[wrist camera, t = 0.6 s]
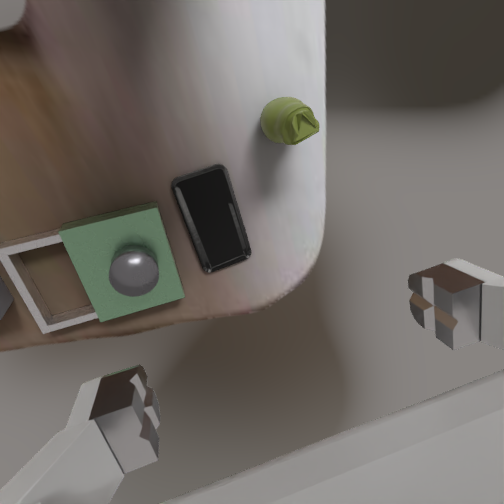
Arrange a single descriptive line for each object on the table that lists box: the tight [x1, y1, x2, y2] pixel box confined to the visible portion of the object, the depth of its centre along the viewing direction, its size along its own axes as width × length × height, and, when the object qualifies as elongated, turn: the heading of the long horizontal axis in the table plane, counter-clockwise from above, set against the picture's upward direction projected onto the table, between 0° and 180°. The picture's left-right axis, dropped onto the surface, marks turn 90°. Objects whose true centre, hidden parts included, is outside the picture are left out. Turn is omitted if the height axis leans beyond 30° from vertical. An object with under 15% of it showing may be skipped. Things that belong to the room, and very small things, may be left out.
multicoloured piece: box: [0, 201, 185, 334], centre depth 44 cm, size 14×20×6 cm
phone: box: [171, 164, 251, 272], centre depth 49 cm, size 8×1×15 cm
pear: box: [260, 97, 319, 145], centre depth 41 cm, size 6×5×10 cm
